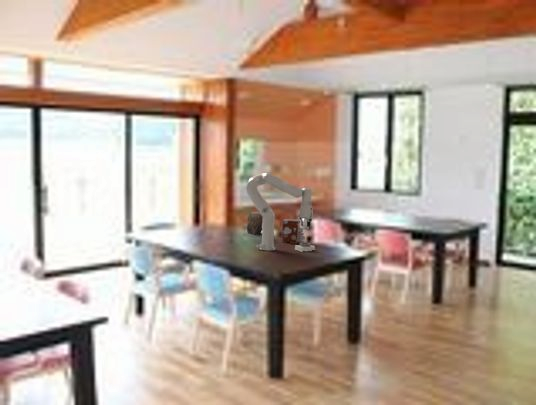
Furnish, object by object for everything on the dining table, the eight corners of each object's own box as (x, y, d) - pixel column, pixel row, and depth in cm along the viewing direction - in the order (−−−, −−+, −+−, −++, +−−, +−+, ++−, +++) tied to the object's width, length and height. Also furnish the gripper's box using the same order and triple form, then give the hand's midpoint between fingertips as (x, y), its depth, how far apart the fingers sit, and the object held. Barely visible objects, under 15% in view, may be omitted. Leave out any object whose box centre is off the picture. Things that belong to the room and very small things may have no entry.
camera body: (301, 251, 444) (301, 244, 444) (294, 249, 452) (295, 243, 451) (314, 250, 451) (314, 243, 451) (307, 248, 459) (308, 241, 458)
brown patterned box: (303, 244, 479) (304, 220, 477) (281, 242, 483) (281, 219, 481) (304, 242, 488) (305, 219, 486) (282, 240, 492) (283, 218, 490)
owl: (245, 232, 529) (246, 211, 527) (256, 231, 537) (256, 211, 535) (253, 234, 519) (254, 213, 517) (264, 233, 527) (265, 212, 525)
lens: (304, 229, 446) (305, 218, 445) (301, 228, 450) (301, 217, 449) (309, 229, 449) (310, 217, 448) (306, 228, 453) (306, 217, 452)
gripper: (317, 204, 445) (317, 226, 447) (300, 202, 455) (299, 224, 457) (312, 204, 439) (312, 227, 441) (294, 203, 449) (294, 225, 451)
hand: (305, 226), depth 449 cm, fingers closed on lens, 5 cm apart
